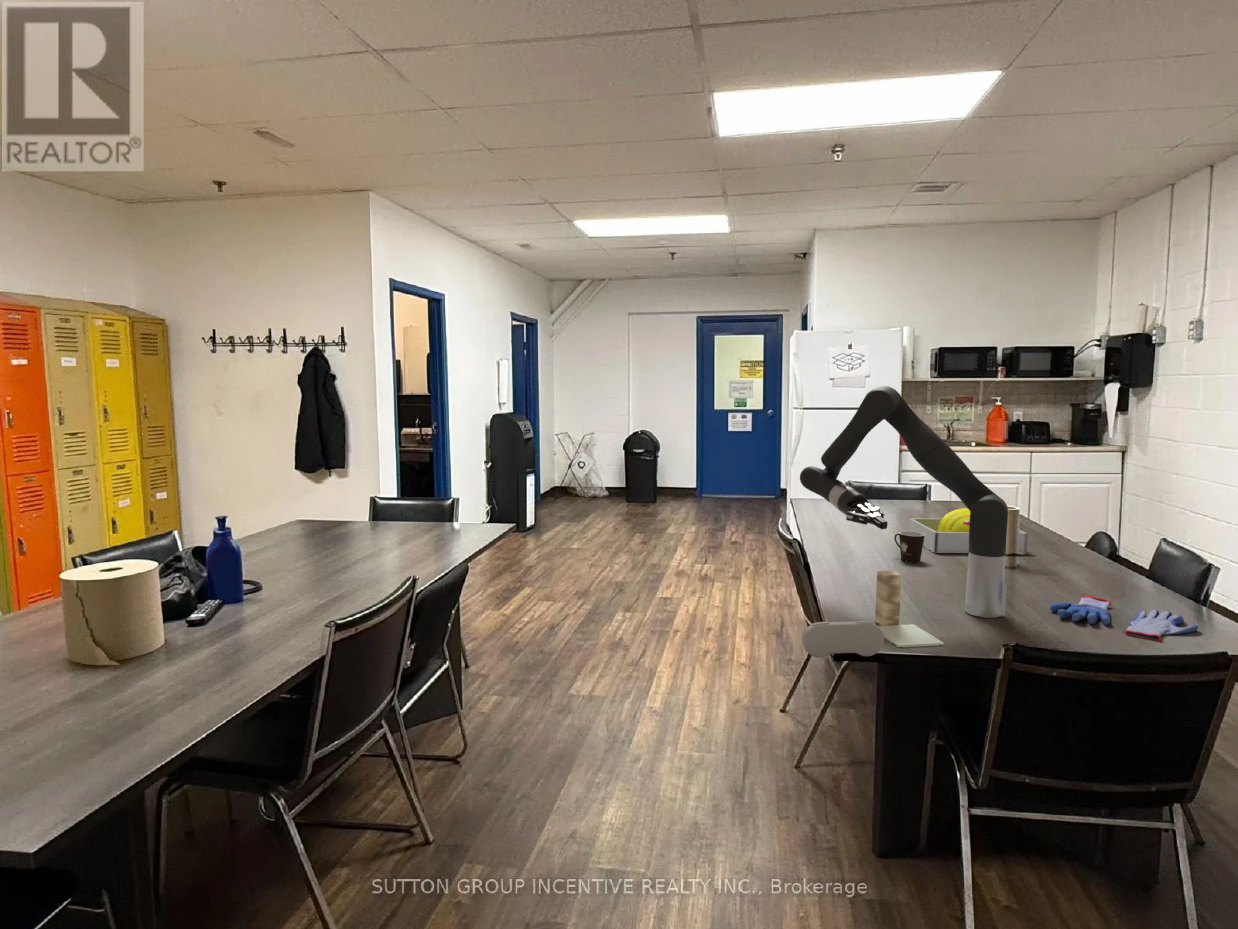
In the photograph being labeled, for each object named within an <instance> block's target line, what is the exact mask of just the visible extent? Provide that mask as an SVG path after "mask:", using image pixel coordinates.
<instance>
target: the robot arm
mask: <svg viewBox="0 0 1238 929" xmlns="http://www.w3.org/2000/svg"><path fill="white" fill-rule="evenodd" d="M883 420H885V421H886V422H887V423H888V424H889V425H890V426H891V427H892V428H893V429H894V430H895V431H897V433H898V434H899V435H900V437H901V438H902V441H903V442H904V444H905V447H907V450H908V451H909V453H910V454H911V456H912V457H913V459H914V461H916V462H917V463H918V465H919V466H921V468H922V469H923V470H924V471H925V472H927V474H928V475H930V476H931V477H932V478H933V479H934V480H935V481H937V482H938V483H940V484H941V485H943V486H944V487H945V488H947V489H949V490H950V491H951V492H952V493H953V494H954V495H956V496H957V498H958V499H959V500H960V501H961V502H962V503H963V504H964V506H965V507H966V508H968V509H969V511H970V524H969V554H967V557H968V558H967V574H966V588H965V590H966V594H965V603H964V604H965V605H964V607H965V608H964V612H966V613H967V614H968V615H971V616H973V617H974V616H975V617H978V616H979V618H986V619H987V618H988V619H995V618H1000V617H1005V616H1006V601H1007V589H1008V588H1007V587H1008V586H1007V585H1008V584H1007V582H1006V581H1005V567H1006V555H1007V554H1006V537H1007V525H1008V522H1009V518H1008V516H1009V507H1008V505H1007V503H1006V502H1005V500H1004V499H1003V498H1002V497H1000V496H999V495H998V494H996V493H995V492H994V491H992V490H991V489H990V488H989V487H988V486H987V485H986V484H984V483H983V481H981V480H980V479H979V478H978V477H976V475H975V474H974V473H973V472H972V471H971V469H969V467H968V466H967V464H966V463H965V462H964V461H963V460H962V458H961V457H959V455H958V454H957V453H956V452H955V451H954V450H953V449H952V447H950V446H949V445H948V444H947V442H945V441H944V439H942V438H941V437H940V436H939V435H938V434H937V433H936V432H935V431H934V430H933V429H932V428H931V427H930V426H929V425H928V424H927V423H926V422H924V421H923V420H922V419H921V418H920V417H919V416H918V415H917V413H916V412H915V411H914V410H913V409H912V408H911V406H909V403H907V402H906V400H905V399H904V397H902V395H901V394H900V392H898V391H897V390H896V389H895V388H894V387H891V386H887V385H882V386H878V387H876V388H874V389H871V390H870V391H868V392H867V393H866V395H865V396H864V398H863V399H862V402H861V404H860V405H859V406H858V408H857V410H856V412H855V414H854V416H853V417H852V418H851V420H850V421H849V422H848V424H846V426H845V428H844V429H843V430H842V431H841V432H840V433H839V435H838V436H836V438H835V439H834V440H833V441H832V442H831V444H830V445H829V447H827V449H826V450H825V451H824V452H823V453H822V455H821V457H820V461H821V464H822V465H823V466H824V467H825V468H823V469H822V468H819V467H817V466H812V465H811V466H807V467H804V468H803V469H802V470H801V472H800V474H799V480H800V483H801V485H802V486H803V487H804V488H805V489H807V490H808V491H810V492H812V493H815V494H816V495H818V496H820V497H822V498H823V499H825V501H827V502H828V503H830V504H831V505H832V506H833V507H834V508H835V509H837V510H838V511H840V512H841V513H842V514H844V515H845V516H846V517H845V520H846V521H849V522H853V523H856V524H861V525H865V526H866V525H868V524H870V525H872V526H873V525H874V526H875V527H877V528H878V529H880V530H886V529H887V528H888V523H889V522H888V521H887V520H886V519H885V511H886V510H885V507H886V506H885V505H883V504H881V505H879V506H875V504H874V503H870V502H869V501H868V499H867V497H866V496H865V495H864V494H862V493H861V492H859V491H857V490H855V489H854V488H853V487H851V486H850V485H847V484H845V483H844V482H842V481H841V480H839V479H838V477H839V475H840V473H841V471H842V469H843V468H844V466H845V465H846V464H847V463H848V461H849V460H850V459H851V458H852V456H853V455H854V454H855V452H857V450H858V449H859V447H860V445H861V443H862V442H863V441H864V439H865V438H866V436H867V435H868V434H869V433H870V432H871V431H872V430H873V429H874V428H875V427H877V426H878V425H879V424H880V423H881V422H883Z"/></svg>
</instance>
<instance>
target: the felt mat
mask: <svg viewBox="0 0 1238 929" xmlns="http://www.w3.org/2000/svg"><path fill="white" fill-rule="evenodd" d="M877 626H878V627H879V628H880V629H881V630H882V632H883V635H884V640H885V639H886V641H888V640H889V641H888V642H889V643H891V644H892V643H894V644H895V645H896V646H895V645H894V644H893V645H894V646H895V647H897V648H898V647H903V648H917V647H937V646H938V647H939V646H940V645H941V646H945V642H943V641H942V640H939V639H938V638H936V637H935V636H934V635H932V634H930V633H929V632H927V631H925V630H924V629H922V628H920V627H919V626H917V625H916V624H914V623H912V624H911V623H910V624H899V625H889V626H881V625H877Z"/></svg>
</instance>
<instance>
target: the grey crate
mask: <svg viewBox="0 0 1238 929" xmlns="http://www.w3.org/2000/svg"><path fill="white" fill-rule="evenodd" d="M941 519H942V518H916V517H915V518H913V517H912V518H908V528H907V529H908V530H907V531H913V532H920V533H923V534H925V537H924V543H923V546H924V547H925V549H926V548H928V549H929V550H931V551H933V552H934V553H969V532H937V529H938V525H939V522H940V521H941ZM1018 530H1019V533H1018V551H1019V552H1022V553H1027V550H1028V538H1029V533H1028V532H1025V531H1022V530H1020V529H1018ZM924 547H923V548H924ZM928 549H927V550H928ZM929 550H928V551H929ZM931 551H930V552H931ZM933 552H932V553H933ZM934 553H933V554H934Z"/></svg>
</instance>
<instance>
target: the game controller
mask: <svg viewBox="0 0 1238 929" xmlns="http://www.w3.org/2000/svg"><path fill="white" fill-rule="evenodd" d="M878 626H879V625H876V624H875V622H873V621H869V620H857V621H817V622H813V623H812V624H810V625H809V626H807V627H806V628H805V629H804V631H803V633H802V636H801V644H802V647H803V649H805V650H804V651H806V652H807V653H808V654H809V655H810V656H812V657H815V658H826V657H828V656H830V655H831V654H857V655H858V656H862V657H871V656H874V655H876V654H878V653H879V652H880V651H881V649H882V648H883V646H884V643H885V638H884V635H883V632H882V630H881V629H880V628H879V627H878Z"/></svg>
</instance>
